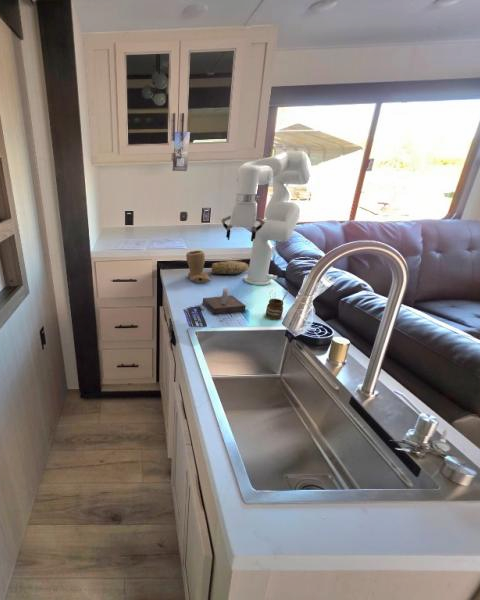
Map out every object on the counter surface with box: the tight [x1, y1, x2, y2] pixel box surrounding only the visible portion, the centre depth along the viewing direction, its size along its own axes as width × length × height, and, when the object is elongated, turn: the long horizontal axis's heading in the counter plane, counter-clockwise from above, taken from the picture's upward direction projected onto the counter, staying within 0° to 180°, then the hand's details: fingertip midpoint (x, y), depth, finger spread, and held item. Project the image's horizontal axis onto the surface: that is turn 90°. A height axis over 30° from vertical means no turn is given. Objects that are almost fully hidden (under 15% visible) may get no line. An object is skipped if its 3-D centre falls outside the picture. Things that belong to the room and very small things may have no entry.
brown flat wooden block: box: [202, 295, 246, 316], centre depth 133 cm, size 14×11×3 cm
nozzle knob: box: [221, 287, 229, 305], centre depth 132 cm, size 6×2×5 cm, turn 162°
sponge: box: [211, 260, 249, 275], centre depth 175 cm, size 13×8×20 cm
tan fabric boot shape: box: [185, 250, 211, 284], centre depth 164 cm, size 15×12×15 cm
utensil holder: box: [265, 289, 289, 321], centre depth 124 cm, size 6×6×12 cm
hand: (240, 240), depth 135 cm, fingers open, 9 cm apart
